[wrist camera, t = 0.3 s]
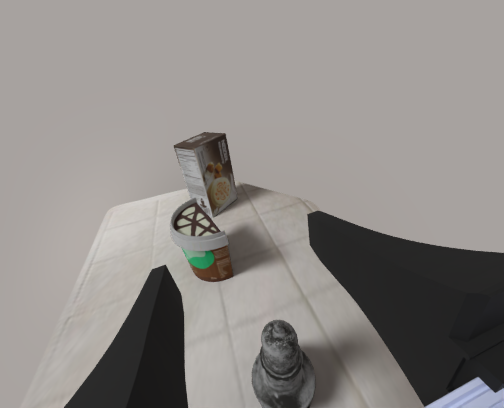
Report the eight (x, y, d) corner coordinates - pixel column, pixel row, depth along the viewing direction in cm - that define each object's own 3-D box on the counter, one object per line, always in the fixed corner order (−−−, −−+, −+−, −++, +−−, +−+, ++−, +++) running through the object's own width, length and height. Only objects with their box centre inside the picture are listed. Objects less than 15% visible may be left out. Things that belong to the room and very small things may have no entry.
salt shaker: (283, 346, 27) (278, 279, 20) (326, 393, 23) (336, 327, 16) (244, 387, 24) (222, 323, 17) (285, 449, 20) (277, 396, 13)
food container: (176, 254, 42) (158, 209, 37) (207, 240, 44) (194, 196, 39) (200, 304, 33) (180, 253, 27) (237, 282, 35) (226, 232, 30)
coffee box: (219, 193, 60) (205, 131, 51) (238, 198, 56) (227, 132, 48) (193, 211, 54) (172, 144, 45) (213, 218, 50) (195, 147, 42)
